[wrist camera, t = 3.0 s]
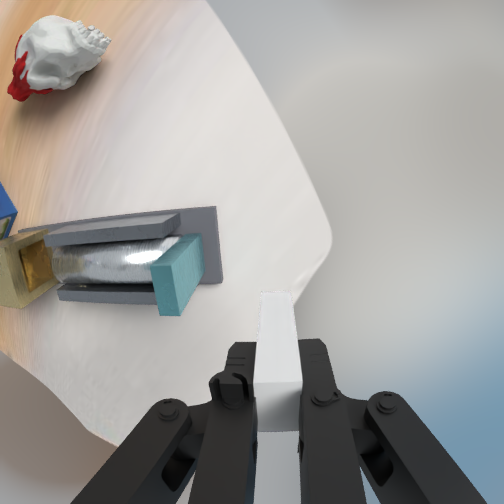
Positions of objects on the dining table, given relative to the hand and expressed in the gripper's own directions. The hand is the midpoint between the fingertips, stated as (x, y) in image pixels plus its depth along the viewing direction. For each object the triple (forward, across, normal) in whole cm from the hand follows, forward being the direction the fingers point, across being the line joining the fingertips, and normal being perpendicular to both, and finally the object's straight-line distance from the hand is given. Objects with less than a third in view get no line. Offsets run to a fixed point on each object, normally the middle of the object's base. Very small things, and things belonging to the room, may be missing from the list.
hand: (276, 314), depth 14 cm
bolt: (+11, -14, 0) cm, 18 cm away
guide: (+13, -21, 0) cm, 25 cm away
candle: (+14, -23, +24) cm, 36 cm away
